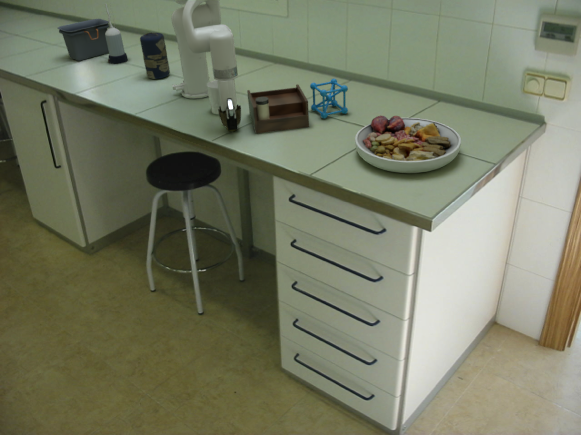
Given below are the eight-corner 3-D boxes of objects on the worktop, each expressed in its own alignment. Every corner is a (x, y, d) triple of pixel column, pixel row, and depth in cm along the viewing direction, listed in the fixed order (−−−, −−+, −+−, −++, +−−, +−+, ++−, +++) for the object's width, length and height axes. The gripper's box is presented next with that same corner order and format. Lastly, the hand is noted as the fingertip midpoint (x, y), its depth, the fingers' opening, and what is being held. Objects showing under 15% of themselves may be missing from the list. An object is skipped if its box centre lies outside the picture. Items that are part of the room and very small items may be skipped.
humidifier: (106, 61, 267) (93, 4, 254) (122, 57, 272) (110, 0, 258) (114, 65, 262) (102, 6, 248) (131, 60, 266) (119, 2, 253)
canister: (159, 81, 240) (151, 36, 230) (142, 78, 244) (133, 34, 235) (175, 74, 247) (168, 30, 237) (158, 71, 251) (150, 28, 241)
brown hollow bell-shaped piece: (239, 135, 191) (237, 112, 187) (217, 134, 193) (214, 111, 188) (245, 126, 197) (243, 103, 193) (224, 125, 199) (221, 102, 194)
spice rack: (255, 133, 192) (253, 107, 187) (249, 115, 205) (247, 90, 200) (309, 126, 194) (308, 100, 189) (299, 109, 207) (298, 84, 202)
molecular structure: (309, 110, 206) (308, 82, 200) (335, 104, 209) (335, 77, 204) (322, 120, 198) (321, 91, 193) (349, 114, 201) (349, 85, 196)
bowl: (481, 155, 170) (485, 130, 166) (406, 189, 156) (407, 163, 152) (406, 124, 191) (408, 101, 187) (334, 151, 177) (333, 127, 173)
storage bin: (104, 47, 287) (97, 17, 279) (120, 53, 277) (114, 21, 269) (62, 58, 275) (54, 27, 267) (78, 65, 265) (70, 32, 257)
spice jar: (258, 123, 191) (256, 102, 187) (256, 118, 195) (254, 97, 191) (271, 121, 192) (269, 100, 188) (269, 116, 195) (267, 96, 191)
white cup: (215, 117, 205) (211, 89, 200) (206, 109, 211) (203, 82, 206) (236, 112, 208) (232, 84, 203) (227, 105, 214) (224, 78, 209)
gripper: (211, 65, 191) (217, 115, 200) (215, 82, 177) (222, 135, 186) (234, 62, 192) (239, 112, 201) (240, 79, 178) (245, 132, 187)
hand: (231, 123), depth 194 cm, fingers open, 9 cm apart
